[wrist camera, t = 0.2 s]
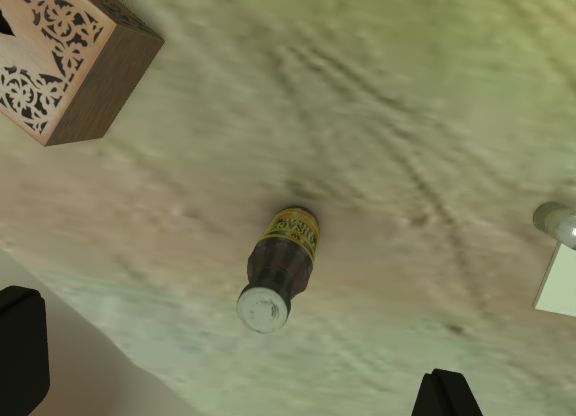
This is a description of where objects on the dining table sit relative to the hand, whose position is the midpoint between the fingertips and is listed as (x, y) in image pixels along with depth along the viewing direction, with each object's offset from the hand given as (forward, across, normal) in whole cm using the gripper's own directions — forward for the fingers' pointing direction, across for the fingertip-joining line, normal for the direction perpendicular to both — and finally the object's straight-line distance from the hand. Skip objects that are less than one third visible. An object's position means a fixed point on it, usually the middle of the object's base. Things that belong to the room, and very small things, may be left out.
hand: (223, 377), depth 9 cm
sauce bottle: (+37, +1, +9) cm, 38 cm away
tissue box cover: (+37, +33, -11) cm, 51 cm away
